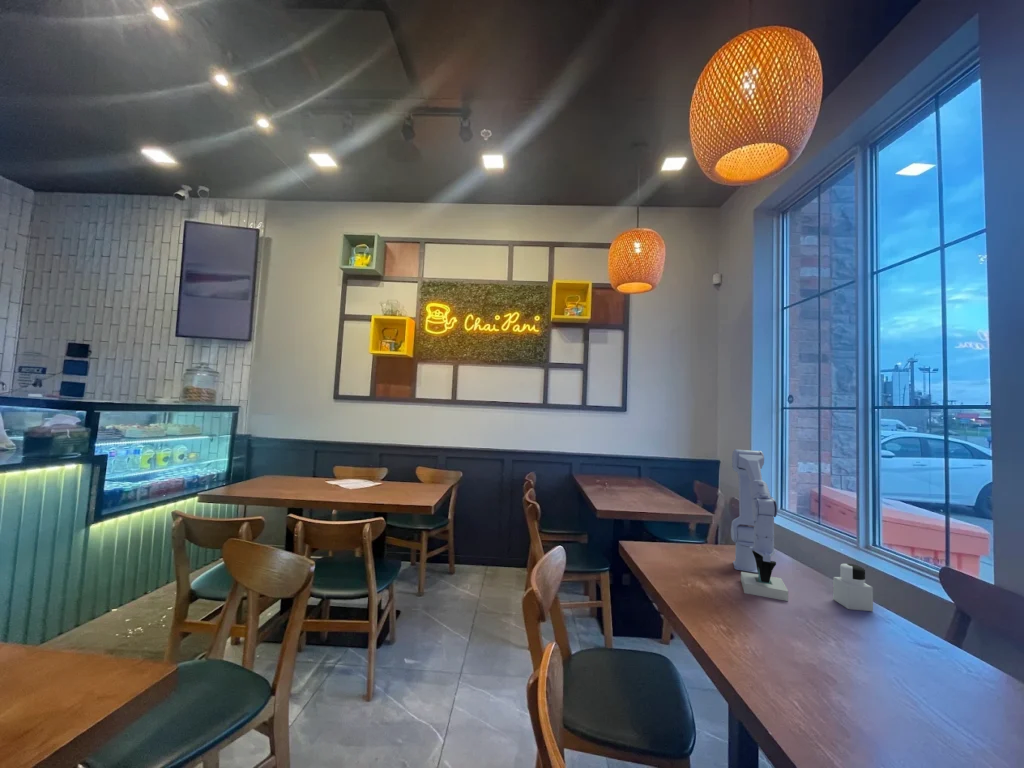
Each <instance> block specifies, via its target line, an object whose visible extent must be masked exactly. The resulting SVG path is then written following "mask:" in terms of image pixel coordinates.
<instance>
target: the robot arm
mask: <svg viewBox="0 0 1024 768" xmlns="http://www.w3.org/2000/svg"><path fill="white" fill-rule="evenodd" d="M731 455H732V456H731V461H732V463H731V464H732V466H731V467H732V470H733V471H734V472H735V473H737V476H738V506H739V507H738V509H739V510H738V511H739V515H738V517H736V518H733V520H731V526H730V537H731V540H732V542H734V543H735V558H734V559H735V560H732V563H733V568H734V570H736V571H737V570H738V571H741V572H747V573H753V574H758V568H759V572H760V578H761V581H762V582H766V583H769V581H770V577H772V572H773V571H774V568H775V567H776V566H777V562H776V561H775V560H774V561H773V560H772V559H771V558H772V556H774V555H775V518H776V517H777V515H778V504H777V501H776V500H775V498H774V497H773V496H771V493H770V490H769V485H768V484H767V482H766V481H764V480H763V477H762V470H761V469H763V467H764V464H765V455H764V452H763V451H762V450H751V449H750V450H749V449H748V450H747V449H738V448H735V449H734V450H733V451H732V454H731Z"/></svg>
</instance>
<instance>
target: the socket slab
mask: <svg viewBox="0 0 1024 768" xmlns="http://www.w3.org/2000/svg"><path fill="white" fill-rule="evenodd" d="M740 582H741V586H742V589H743V593H744V594H748V595H752V596H758V597H764V598H769V599H773V600H779V601H786V602H789V589H788V588H787V586H786V585H785V582H784V581H783V579H782V578H781V577H776V576H775V577H774V576H771V577H770V584H766V583H760V582H758V573H754V572H748V571H741V572H740Z"/></svg>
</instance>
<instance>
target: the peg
mask: <svg viewBox="0 0 1024 768" xmlns="http://www.w3.org/2000/svg"><path fill="white" fill-rule="evenodd" d="M757 574H758V582H760V583H766V582H762V581H761V578H760V572H759V568H758V573H757ZM766 584H770V581H769V583H766Z"/></svg>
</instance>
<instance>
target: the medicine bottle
mask: <svg viewBox="0 0 1024 768" xmlns="http://www.w3.org/2000/svg"><path fill="white" fill-rule="evenodd" d="M839 570H840V572H839V576H833V577H832V580H833V581H832V583H833V584H832V585H833V587H832V590H833V591H832V593H833V595H832V596H833V597H832V598H833V601H835V602H837V603H838V604H839V605H841V606H843V607H844V608H845V609H847V610H854V611H865V612H874V587H873V586H872V585H869V584H867V583H866V569H864V568H863V567H862V566H860V565H858V564H857V565H856V564H854V563H848V562H847V563H841V564H840V565H839Z"/></svg>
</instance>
